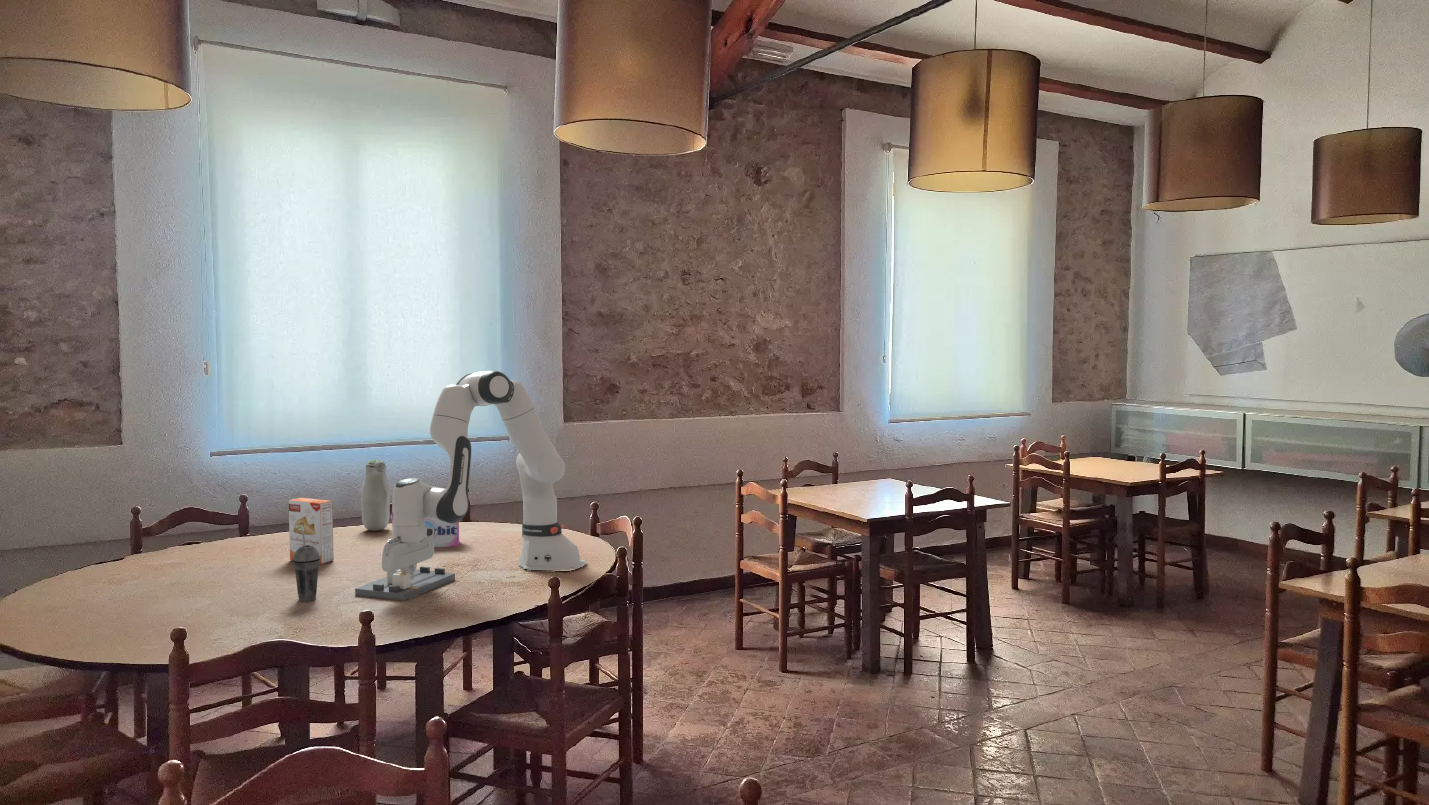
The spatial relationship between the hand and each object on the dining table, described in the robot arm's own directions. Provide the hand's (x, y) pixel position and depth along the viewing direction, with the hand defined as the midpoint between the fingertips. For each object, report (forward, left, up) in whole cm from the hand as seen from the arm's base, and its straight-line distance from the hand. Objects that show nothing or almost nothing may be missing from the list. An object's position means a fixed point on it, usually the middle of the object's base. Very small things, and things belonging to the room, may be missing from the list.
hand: (408, 579), depth 269 cm
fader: (0, +3, -1) cm, 4 cm away
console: (+4, -4, -4) cm, 7 cm away
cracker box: (+54, -21, -4) cm, 58 cm away
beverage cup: (+22, +16, -4) cm, 28 cm away
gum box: (+33, -55, -4) cm, 64 cm away
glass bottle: (+67, -70, -4) cm, 97 cm away
